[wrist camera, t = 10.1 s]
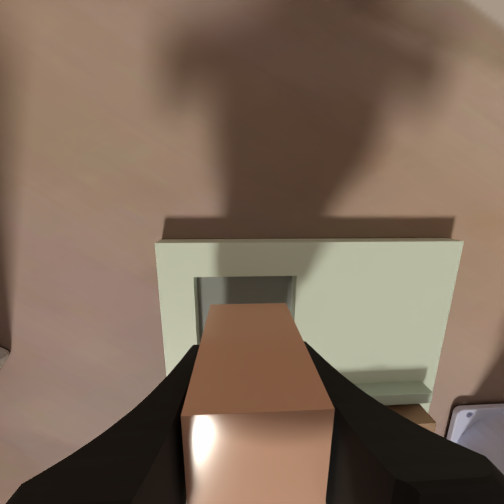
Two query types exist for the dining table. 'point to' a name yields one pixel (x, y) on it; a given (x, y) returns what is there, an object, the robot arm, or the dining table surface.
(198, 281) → the board
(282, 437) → the block
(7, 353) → the coffee box
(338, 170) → the dining table surface
